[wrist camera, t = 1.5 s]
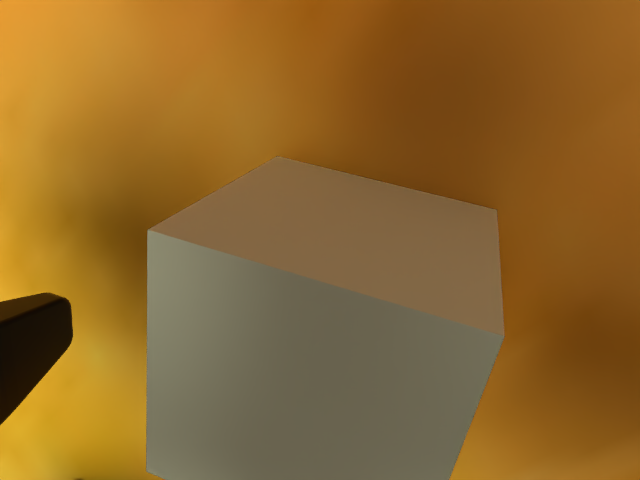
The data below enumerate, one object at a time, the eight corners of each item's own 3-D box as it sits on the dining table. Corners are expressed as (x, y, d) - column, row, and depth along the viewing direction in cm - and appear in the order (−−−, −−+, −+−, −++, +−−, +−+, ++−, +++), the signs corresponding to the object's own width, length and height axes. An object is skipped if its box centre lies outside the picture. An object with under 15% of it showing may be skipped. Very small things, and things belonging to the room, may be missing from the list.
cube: (436, 389, 12) (409, 581, 8) (257, 330, 14) (146, 471, 9) (496, 208, 10) (504, 336, 6) (278, 155, 11) (147, 229, 7)
